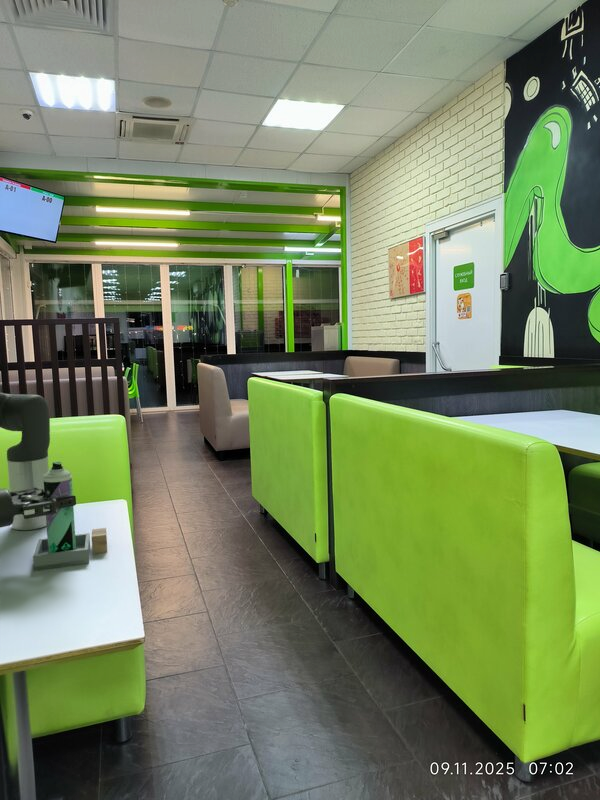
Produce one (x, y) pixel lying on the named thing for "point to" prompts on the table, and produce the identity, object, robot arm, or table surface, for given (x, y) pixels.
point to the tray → (62, 554)
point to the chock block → (99, 540)
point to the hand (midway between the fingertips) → (69, 495)
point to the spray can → (59, 510)
